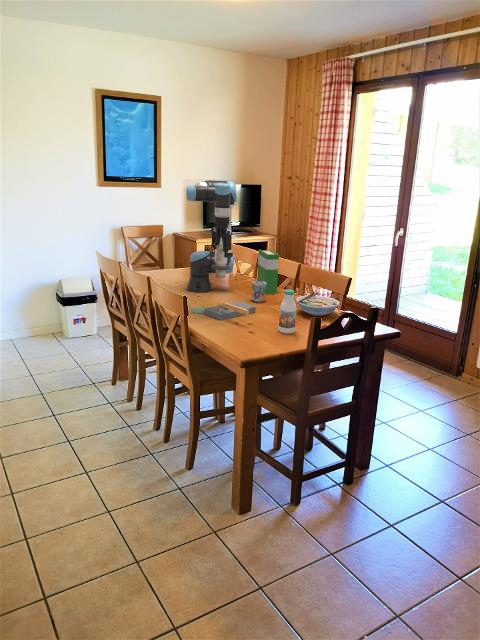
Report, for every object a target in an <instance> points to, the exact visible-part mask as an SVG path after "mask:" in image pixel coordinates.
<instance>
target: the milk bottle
mask: <svg viewBox="0 0 480 640" xmlns="http://www.w3.org/2000/svg"><path fill="white" fill-rule="evenodd" d="M283 293H284V294H283V295H284V297H283V300H282V301H281V303H280V308H279V316H278V317H279V319H278V331H279V333H281V334H287V335H289V334H290V335H291V334H294V333H295V330H296V322H297V321H296V320H297V319H296V318H297V305H296V304H297V303H296V301H295V298H294V296H295V290H293V289H284V292H283Z"/></svg>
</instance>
